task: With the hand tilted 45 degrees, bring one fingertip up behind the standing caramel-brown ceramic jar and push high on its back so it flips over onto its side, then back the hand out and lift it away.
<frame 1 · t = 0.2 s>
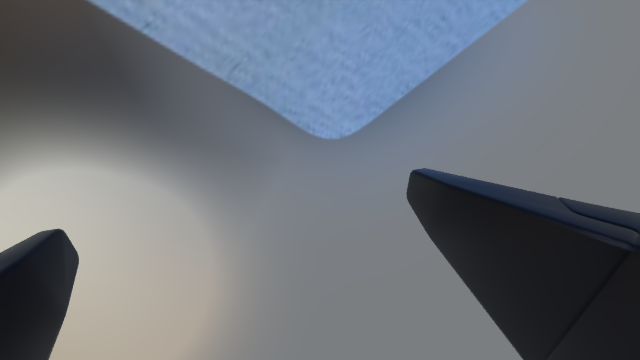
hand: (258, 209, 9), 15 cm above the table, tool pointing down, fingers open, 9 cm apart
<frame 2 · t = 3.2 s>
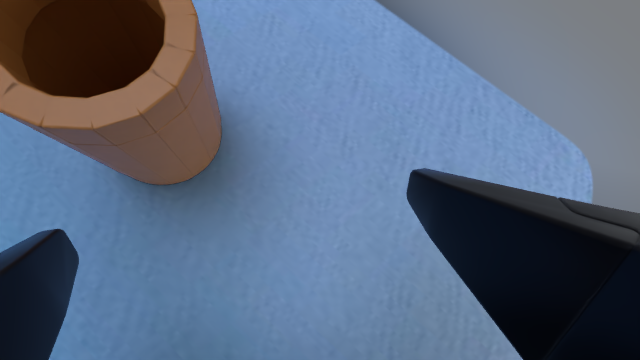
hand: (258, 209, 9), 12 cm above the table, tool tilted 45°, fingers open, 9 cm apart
jar: (164, 130, 21), on the table
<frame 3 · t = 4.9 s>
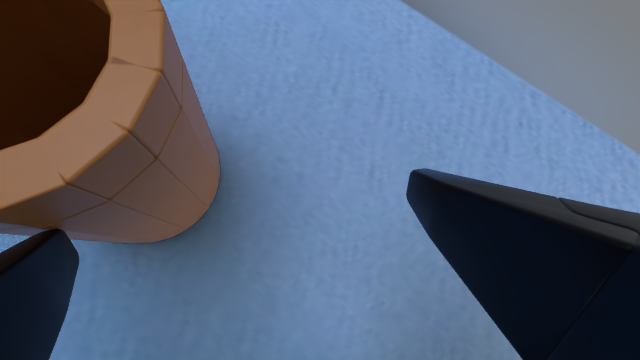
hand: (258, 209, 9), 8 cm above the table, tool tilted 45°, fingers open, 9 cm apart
jar: (148, 172, 16), on the table, touching gripper
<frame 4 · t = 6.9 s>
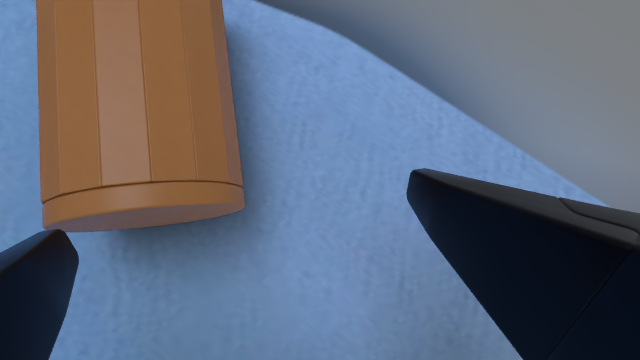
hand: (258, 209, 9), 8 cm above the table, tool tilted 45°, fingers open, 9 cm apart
jar: (156, 219, 13), point 3 cm above the table, tilted 90°
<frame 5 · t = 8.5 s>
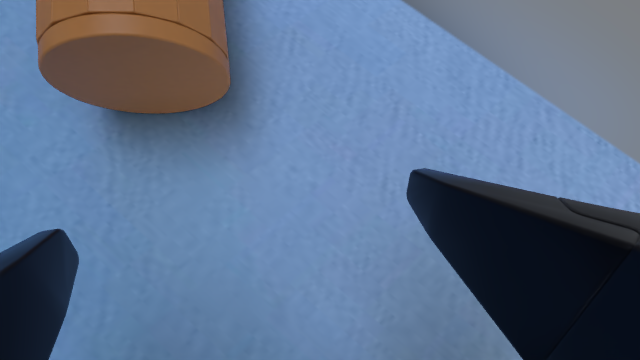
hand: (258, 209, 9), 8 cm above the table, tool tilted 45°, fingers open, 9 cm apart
jar: (145, 83, 14), point 3 cm above the table, tilted 90°
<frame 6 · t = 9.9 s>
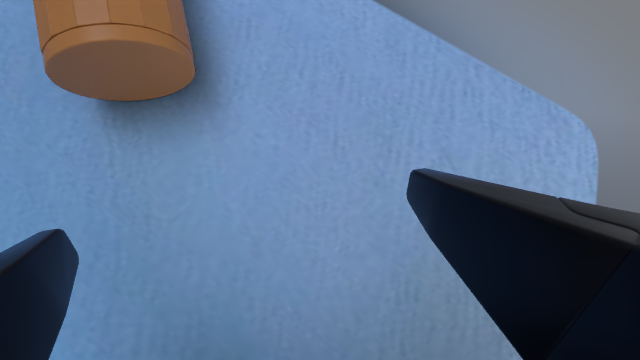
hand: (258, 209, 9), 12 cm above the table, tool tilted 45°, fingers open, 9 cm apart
jar: (127, 76, 18), point 3 cm above the table, tilted 90°
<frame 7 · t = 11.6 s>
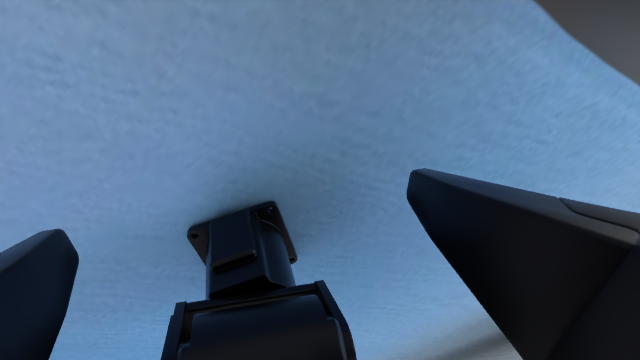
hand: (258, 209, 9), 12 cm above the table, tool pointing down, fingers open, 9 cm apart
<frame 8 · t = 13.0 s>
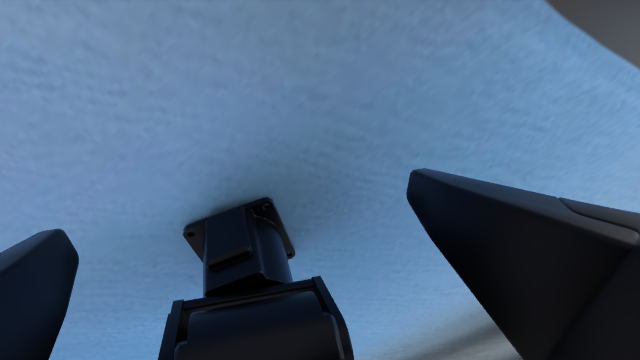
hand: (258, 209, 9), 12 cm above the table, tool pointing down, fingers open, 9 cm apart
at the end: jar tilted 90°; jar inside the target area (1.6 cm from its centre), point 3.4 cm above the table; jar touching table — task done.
